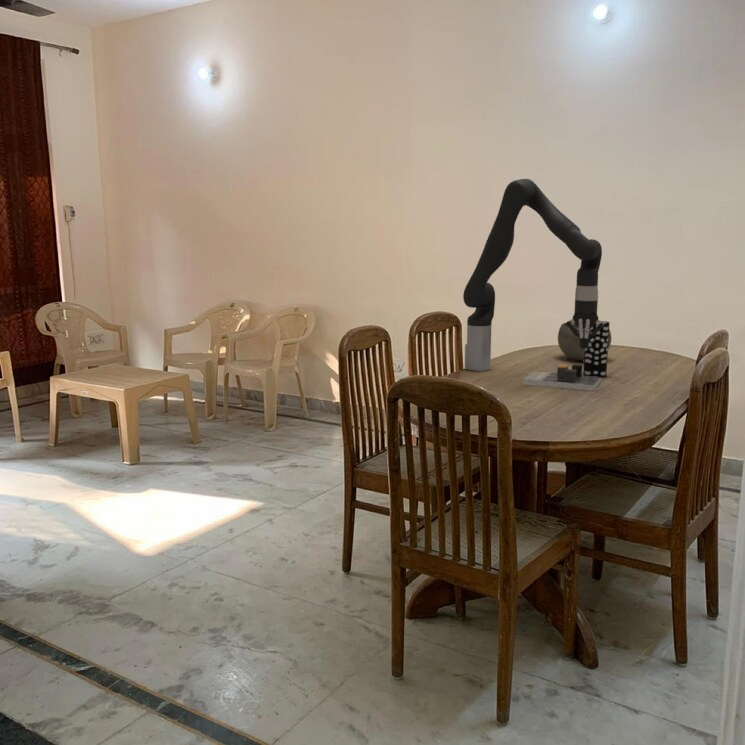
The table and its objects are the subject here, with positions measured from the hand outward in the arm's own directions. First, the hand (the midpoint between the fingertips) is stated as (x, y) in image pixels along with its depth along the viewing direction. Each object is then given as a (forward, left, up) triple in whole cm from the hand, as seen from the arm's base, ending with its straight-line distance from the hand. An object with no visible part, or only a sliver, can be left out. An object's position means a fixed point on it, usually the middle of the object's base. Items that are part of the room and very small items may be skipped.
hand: (584, 348), depth 266 cm
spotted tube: (+1, +18, -13) cm, 22 cm away
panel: (-7, 0, -13) cm, 15 cm away
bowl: (-9, +48, -13) cm, 51 cm away
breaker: (-7, 0, -11) cm, 13 cm away
